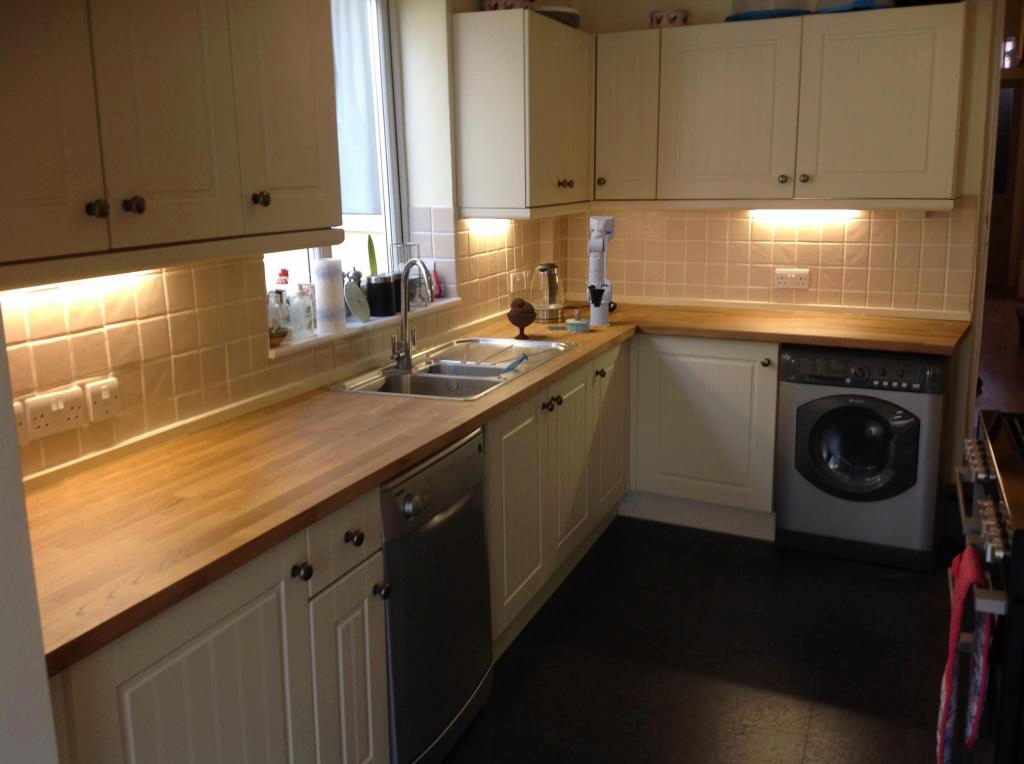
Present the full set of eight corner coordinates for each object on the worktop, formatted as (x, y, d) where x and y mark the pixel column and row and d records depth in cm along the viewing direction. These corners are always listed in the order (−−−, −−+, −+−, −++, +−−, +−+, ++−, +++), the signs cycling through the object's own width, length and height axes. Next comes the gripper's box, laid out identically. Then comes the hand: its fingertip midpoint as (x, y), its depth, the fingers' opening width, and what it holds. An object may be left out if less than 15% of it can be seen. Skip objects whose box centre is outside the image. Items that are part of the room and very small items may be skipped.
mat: (547, 328, 380) (547, 326, 380) (565, 327, 380) (565, 326, 380) (549, 331, 371) (549, 330, 371) (567, 331, 372) (567, 330, 371)
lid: (565, 320, 372) (565, 308, 371) (588, 320, 372) (589, 308, 371) (566, 324, 364) (566, 311, 363) (590, 324, 363) (590, 311, 362)
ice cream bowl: (512, 341, 350) (512, 300, 347) (503, 336, 360) (503, 296, 357) (540, 340, 353) (540, 299, 349) (531, 335, 363) (531, 295, 360)
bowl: (567, 331, 372) (567, 320, 372) (587, 330, 373) (587, 320, 372) (568, 334, 365) (568, 324, 364) (589, 334, 365) (590, 323, 364)
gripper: (584, 268, 374) (583, 303, 377) (588, 272, 360) (587, 308, 362) (602, 268, 374) (601, 303, 377) (606, 272, 360) (606, 308, 363)
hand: (596, 305), depth 370 cm, fingers open, 7 cm apart
